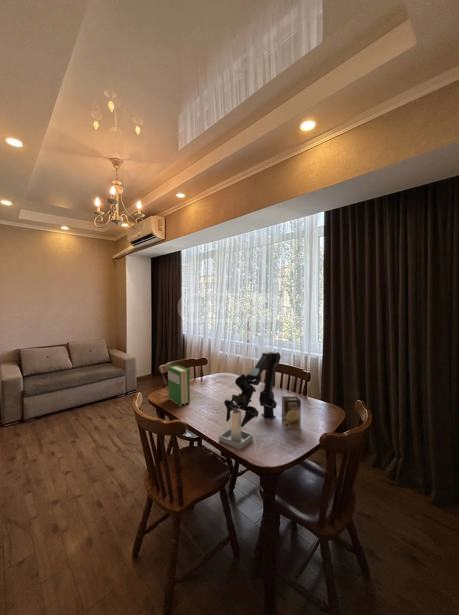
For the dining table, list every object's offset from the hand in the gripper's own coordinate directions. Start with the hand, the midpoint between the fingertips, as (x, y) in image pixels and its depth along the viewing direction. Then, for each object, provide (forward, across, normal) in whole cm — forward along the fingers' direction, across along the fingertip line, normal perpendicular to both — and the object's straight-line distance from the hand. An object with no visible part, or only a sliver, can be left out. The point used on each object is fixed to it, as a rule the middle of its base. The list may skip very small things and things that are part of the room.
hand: (234, 424), depth 124 cm
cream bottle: (+5, 0, +7) cm, 9 cm away
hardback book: (-5, -62, +19) cm, 65 cm away
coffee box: (-15, +16, +28) cm, 36 cm away
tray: (+6, 0, +7) cm, 9 cm away
